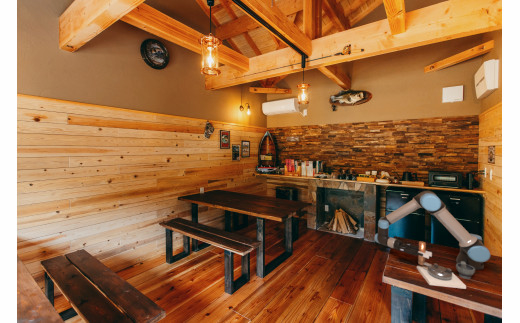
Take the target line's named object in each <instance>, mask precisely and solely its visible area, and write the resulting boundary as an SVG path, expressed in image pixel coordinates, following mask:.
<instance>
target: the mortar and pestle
mask: <svg viewBox="0 0 520 323" xmlns="http://www.w3.org/2000/svg"><path fill="white" fill-rule="evenodd" d="M455 268H456V271H457V272H458V275H459V277H461V278H463V279H466V280H470V279H471V278H472V276H473V275H474V274H475V273H476V269H475V268H474V267H472V266H470V265H467V264H466V263H465V262H464V261H461V263H457V262H456V264H455Z"/></svg>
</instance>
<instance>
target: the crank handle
mask: <svg viewBox="0 0 520 323" xmlns="http://www.w3.org/2000/svg"><path fill="white" fill-rule="evenodd" d="M418 247H419V251H420V252H423V253H425V251H427V250H426V248H427V243H426V242H425V241H423V240H422V241H421V240H420V241H418ZM417 258H418V260H417V263H418V265H419V266H425V267H428V273H429V275H431V276H432V277H434V278H437V279H440V280H446V281H447V280H451V279H452V273H453V272H452V269H451V268H449V267H444V266H442V265H438V263H434V262H433V264H432V263H429V262H427V261H426V258H425V257H422V256H419V255H418V256H417Z"/></svg>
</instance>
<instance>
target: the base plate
mask: <svg viewBox="0 0 520 323" xmlns="http://www.w3.org/2000/svg"><path fill="white" fill-rule="evenodd" d="M416 270H417V271H418V272H419V274H420V275H421V276H422V277H423V279H424V280H425V281H426V282H427V284H428V285H429V286H436V287H446V288H455V289H456V288H457V289H464V290H466V289H467V285H466V284H465V283H464V282H463V281H462V280H461V279H460V278H459V277H458V276H457V275H455V274H454V272H452V279H451V280H447V281H446V280H440V279H437V278H434V277H432V276H431V275H429V273H428V266H425V265H416Z"/></svg>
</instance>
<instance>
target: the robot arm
mask: <svg viewBox="0 0 520 323" xmlns="http://www.w3.org/2000/svg"><path fill="white" fill-rule="evenodd" d="M420 208H421V209H424V210H426V211H427V213H428V214H430V215H433V216H434V217H435V218H436V219H437V220H438V222H440V223H441V224H442V225H443V226H444V227H445V228H446V230H447V231H448V232H449V233H450V234H451V235H452V236H453V237H454V238H455V239H456V240H457V241H458V242H459V243H458V246H459V253H458V254H457V256H456V260H455V261H456V264H457V263H461V261H464V262H465V263H466V264H467V265H470V266H472V267H474V268H475V271H476V270H484V268H485V267H484V266H485V265H484V262H487V261H489V260H490V258H491V252H490V250H489V248H488V247H486V246H485V245H484V243H483V239H482V236H480V235H478V234H474V233H469V231H468V230H466V228H465V227H463V225H462V224H461V222H459V221H458V220H457V219H456V218H455V217H454V215H452V214H451V212H449V210H448V209H447V208H446V204H445V203H444V202H443V200H441V199H440V198H439V197H438V196H437V194H436V193H435V192H433V191H430V190H423V191H421V192H420V193H418V194H417V195H416V196H414V197H412V200H410V201H408V202H407V203H405V204H403V205H402V206H400V207H398V208H397V209H395V210H394V211H391V212H390V213H389V214H387V215H385V216H382V217H380V218H379V220H378V223H377V233H375V235H374V241H375V242H376V243H378V244H380V245H383V246H385V247H389V248H391V249H395V250H396V251H399V252H402V253H406V254H409V255H412V256H416V257H418V256H422V257H425V259H428V260H429V259H430V257H431V258H432V256H433V252H432V251H428V250H426V251H425V253H423V252H420V251H419V246H418V245H413V244H411V243H409V242H408V243H403V241H402V240H401V239H400V240H399V239H398V238H394V237H390V236H389V230H390V229H389V227H390V226H391V225H392V224H394V223H396V222H398V221H399V220H402V218H403V219H404V217H406V216H408V215H409V214H411V213H413V212H415V211H417V210H418V209H420Z"/></svg>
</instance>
